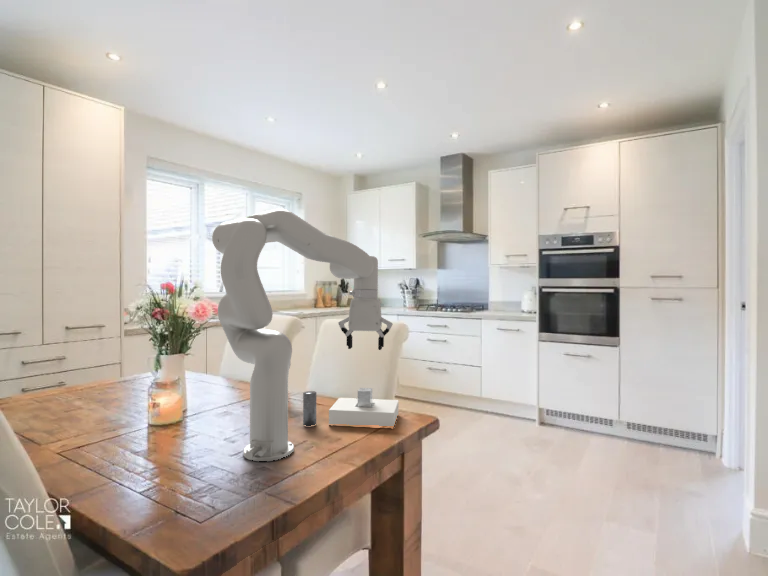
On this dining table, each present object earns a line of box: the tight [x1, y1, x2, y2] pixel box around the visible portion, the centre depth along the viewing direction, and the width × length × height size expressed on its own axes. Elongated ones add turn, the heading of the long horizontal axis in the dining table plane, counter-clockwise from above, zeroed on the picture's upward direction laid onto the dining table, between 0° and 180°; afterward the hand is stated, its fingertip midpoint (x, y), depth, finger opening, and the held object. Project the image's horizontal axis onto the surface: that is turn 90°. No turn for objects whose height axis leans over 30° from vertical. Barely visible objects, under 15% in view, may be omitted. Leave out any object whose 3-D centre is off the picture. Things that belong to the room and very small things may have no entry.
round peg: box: [302, 390, 317, 426], centre depth 133 cm, size 4×4×10 cm
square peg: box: [357, 387, 373, 408], centre depth 137 cm, size 4×4×10 cm
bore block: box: [328, 397, 399, 426], centre depth 138 cm, size 14×20×5 cm
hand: (365, 348), depth 137 cm, fingers open, 9 cm apart
